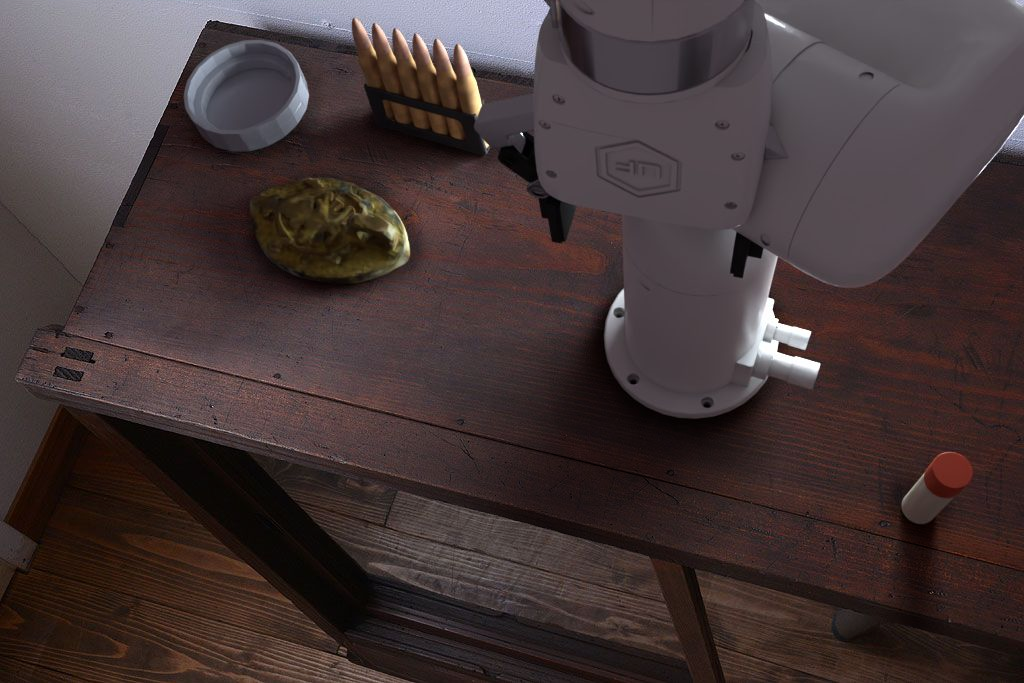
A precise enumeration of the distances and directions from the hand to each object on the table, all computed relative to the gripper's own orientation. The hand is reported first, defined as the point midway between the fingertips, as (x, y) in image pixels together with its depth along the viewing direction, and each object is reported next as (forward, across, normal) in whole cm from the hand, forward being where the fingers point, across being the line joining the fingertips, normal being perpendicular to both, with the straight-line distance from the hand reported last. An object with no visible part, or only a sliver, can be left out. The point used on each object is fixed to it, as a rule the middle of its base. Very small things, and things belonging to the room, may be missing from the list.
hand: (652, 237), depth 52 cm
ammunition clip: (+21, -23, +19) cm, 37 cm away
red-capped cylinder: (+21, +19, -4) cm, 29 cm away
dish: (+21, -40, +18) cm, 49 cm away
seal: (+21, -29, +7) cm, 36 cm away
